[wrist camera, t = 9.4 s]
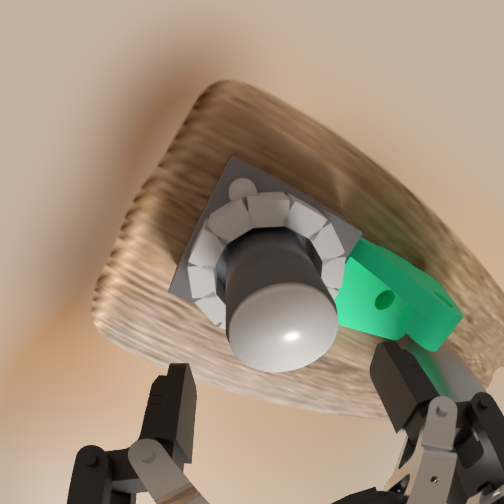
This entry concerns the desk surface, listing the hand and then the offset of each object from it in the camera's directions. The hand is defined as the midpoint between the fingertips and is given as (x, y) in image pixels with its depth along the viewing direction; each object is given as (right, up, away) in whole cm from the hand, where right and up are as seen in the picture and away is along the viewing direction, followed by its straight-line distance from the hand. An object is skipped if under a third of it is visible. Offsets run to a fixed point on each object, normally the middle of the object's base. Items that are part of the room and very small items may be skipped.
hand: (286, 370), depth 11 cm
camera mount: (+10, +2, +15) cm, 18 cm away
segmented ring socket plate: (-1, +6, +11) cm, 13 cm away
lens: (-1, +5, +7) cm, 9 cm away
